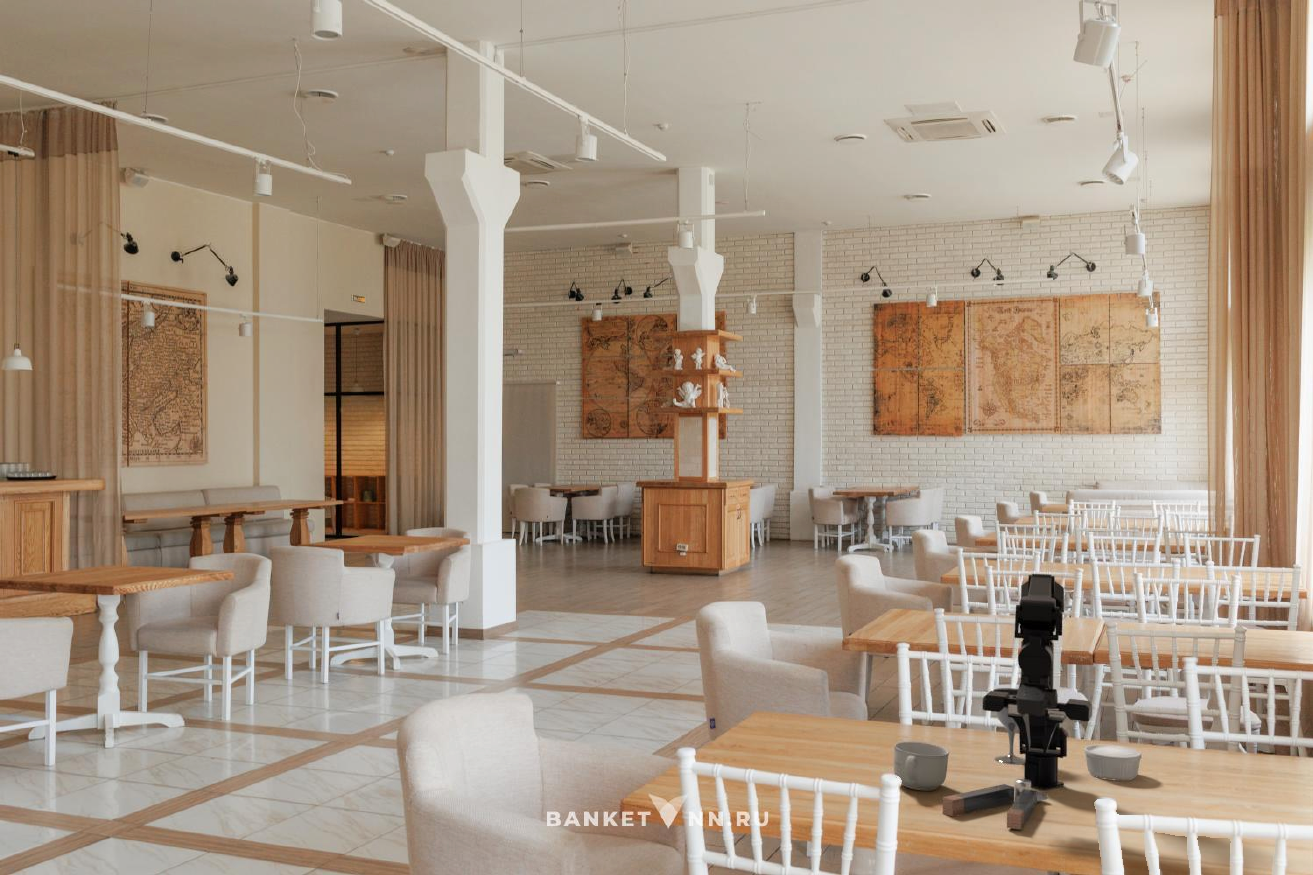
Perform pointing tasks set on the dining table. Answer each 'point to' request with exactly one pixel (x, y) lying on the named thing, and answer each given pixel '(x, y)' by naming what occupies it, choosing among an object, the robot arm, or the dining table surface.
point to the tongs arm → (1021, 809)
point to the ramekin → (1112, 761)
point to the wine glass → (1008, 729)
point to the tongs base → (986, 798)
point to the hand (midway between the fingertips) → (1036, 752)
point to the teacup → (920, 765)
